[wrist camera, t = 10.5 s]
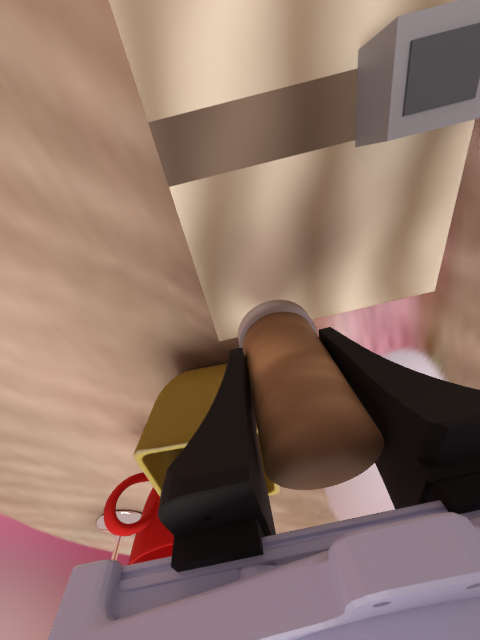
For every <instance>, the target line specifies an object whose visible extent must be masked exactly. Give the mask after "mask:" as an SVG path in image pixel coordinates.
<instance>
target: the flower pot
mask: <svg viewBox="0 0 480 640" xmlns="http://www.w3.org/2000/svg"><path fill="white" fill-rule="evenodd" d="M226 366H227V363H226V364H221V365H216V366H211V367H205V368H199V369H194V370H188V371H185V372H183V373H181V374H180V375H178V376H177V377H175V378H174V379H173V380H171V381H170V382H169V383H168V384H167V385H166V386H165V388H164V389H163V390H162V391H161V393H160V394H159V396H158V398H157V400H156V402H155V404H154V406H153V409H152V411H151V413H150V416H149V419H148V421H147V423H146V426H145V428H144V431H143V433H142V436H141V438H140V441H139V443H138V446H137V448H136V450H135V453H134V455H133V456H134V459H135V460H136V462H137V464H138V465H139V467H140V468H141V470H142V471H143V472H144V474H145V475H146V477H147V478H148V480H149V481H150V483H151V484H152V486H153V487H154V488H155V490H156V491H157V493H158V495H159V496H161V490H162V486H163V482H164V478H165V475H166V471H167V468H168V467H169V466H170V465H171V464H172V462H173V461H174V460H175V459H176V458H177V456H178V455H179V454H180V453H181V451H182V450H183V449H184V448H185V446H186V445H187V444H188V442H189V441H190V439H191V438H192V436H193V435H194V434H195V432H196V431H197V429H198V428H199V426H200V424H201V423H202V421H203V419H204V418H205V416H206V414H207V413H208V411H209V409H210V407H211V405H212V403H213V401H214V399H215V397H216V394H217V392H218V389H219V387H220V384H221V382H222V379H223V376H224V373H225V370H226ZM256 428H257V423H256ZM257 437H258V443H259V449H260V454H261V460H262V465H263V470H264V475H265V481H266V486H267V491H268V496H270V495H274V494H277V493H279V491H280V486H279V485H277V484H275V483H273V482H272V481H271V480H270V479H269V478H268V477H267V475H266V473H265V469H264V463H263V457H262V452H261V446H260V440H259V435H258V429H257Z"/></svg>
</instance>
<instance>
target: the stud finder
mask: <svg viewBox="0 0 480 640" xmlns="http://www.w3.org/2000/svg"><path fill="white" fill-rule="evenodd" d="M478 118H480V0H458V1H454V2H450V3H446V4H442V5H439V6H435V7H431V8H427V9H423V10H420V11H416V12H412V13H408V14H404V15H401V16H398V17H397V18H395V19H394V20H393V21H392V22H391V23H390V24H388V25H387V26H386V27H385V28H384V29H382V30H381V31H380V32H379V33H378V34H377V35H375V36H374V37H373V38H372V39H371V40H370V41H368V42H367V43H366V44H365V45H364V46H362V47H361V48H360V49H359V50H358V74H357V105H356V136H355V147H360V146H365V145H370V144H376V143H381V142H386V141H390V140H394V139H398V138H402V137H406V136H410V135H414V134H418V133H422V132H426V131H430V130H434V129H438V128H442V127H446V126H450V125H454V124H458V123H462V122H466V121H470V120H474V119H478Z"/></svg>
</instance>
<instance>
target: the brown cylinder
mask: <svg viewBox="0 0 480 640" xmlns="http://www.w3.org/2000/svg"><path fill="white" fill-rule="evenodd" d="M238 341H239V348H243V352H244V356H245V360H246V366H247V372H248V378H249V384H250V389H251V395H252V401H253V406H254V412H255V418H256V423H257V429H258V435H259V440H260V446H261V452H262V457H263V463H264V469H265V473H266V475H267V477H268V478H269V479H270V480H271V481H272V482H273V483H275V484H277V485H279V486H281V487H285V488H289V489H295V490H313V489H321V488H326V487H330V486H334V485H337V484H340V483H343V482H345V481H347V480H350V479H352V478H354V477H356V476H358V475H359V474H361V473H363V472H364V471H365V470H367V469H368V468H369V467H370V466H371V465H373V464H374V463H375V462H376V460H377V459H378V458H379V456H380V455H381V453H382V451H383V447H384V439H383V436H382V434H381V432H380V431H379V429H378V428H377V426H376V425H375V423H374V422H373V420H372V418H371V417H370V415H369V414H368V412H367V411H366V409H365V408H364V406H363V405H362V403H361V402H360V400H359V399H358V397H357V395H356V394H355V392H354V391H353V389H352V388H351V386H350V385H349V383H348V382H347V380H346V379H345V377H344V375H343V374H342V372H341V371H340V369H339V368H338V366H337V365H336V363H335V362H334V360H333V359H332V357H331V356H330V354H329V352H328V351H327V349H326V348H325V346H324V345H323V343H322V342H321V340H320V339H319V337H318V336H317V330H316V327H315V324H314V322H313V321H312V319H311V318H310V317H309V315H308V314H307V312H306V311H305V310H304V309H303V308H302V307H301V306H300V305H298V304H296V303H294V302H291V301H288V300H271V301H267V302H264V303H261V304H259V305H257V306H256V307H254V308H253V309H251V310H250V311H249V312H248V313H247V314H246V315H245V316H244V318H243V319H242V321H241V323H240V325H239V329H238Z"/></svg>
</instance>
